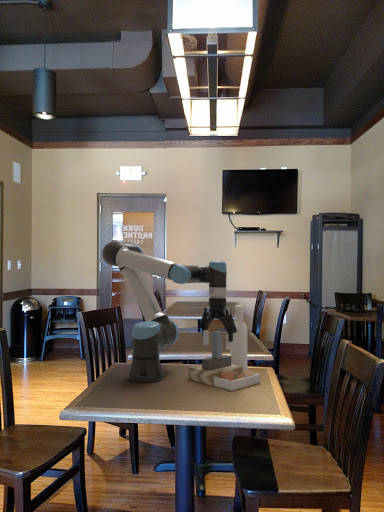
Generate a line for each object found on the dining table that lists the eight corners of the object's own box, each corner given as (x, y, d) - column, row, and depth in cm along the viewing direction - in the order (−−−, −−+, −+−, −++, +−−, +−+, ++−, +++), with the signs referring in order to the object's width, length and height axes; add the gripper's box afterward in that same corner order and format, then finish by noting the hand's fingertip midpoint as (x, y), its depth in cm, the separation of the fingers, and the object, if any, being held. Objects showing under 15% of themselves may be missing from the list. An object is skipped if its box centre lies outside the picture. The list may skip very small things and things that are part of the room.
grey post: (201, 368, 175) (202, 332, 175) (224, 363, 184) (224, 329, 185) (208, 370, 172) (209, 333, 172) (231, 365, 181) (231, 330, 182)
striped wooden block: (188, 378, 178) (188, 367, 178) (217, 372, 190) (217, 361, 190) (214, 386, 167) (214, 373, 167) (243, 378, 179) (243, 366, 179)
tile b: (243, 371, 169) (246, 376, 168) (251, 369, 172) (254, 374, 171) (236, 377, 172) (239, 382, 170) (243, 375, 175) (246, 380, 174)
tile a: (220, 371, 168) (225, 372, 166) (228, 369, 172) (233, 370, 170) (220, 384, 168) (225, 385, 166) (228, 381, 172) (233, 383, 170)
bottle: (248, 369, 195) (248, 305, 196) (246, 373, 188) (247, 306, 189) (231, 368, 197) (231, 304, 198) (228, 372, 190) (229, 306, 191)
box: (214, 386, 167) (214, 377, 167) (243, 378, 179) (243, 370, 179) (231, 391, 160) (231, 382, 160) (259, 382, 173) (260, 374, 173)
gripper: (191, 295, 185) (190, 344, 185) (233, 299, 167) (233, 352, 167) (203, 295, 191) (202, 342, 190) (245, 298, 173) (245, 350, 172)
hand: (217, 347), depth 178 cm, fingers open, 13 cm apart
